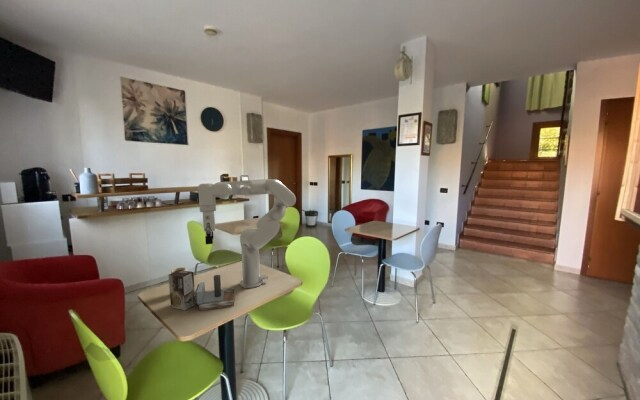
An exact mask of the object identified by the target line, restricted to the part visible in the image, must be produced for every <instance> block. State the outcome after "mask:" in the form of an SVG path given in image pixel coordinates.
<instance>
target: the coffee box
mask: <svg viewBox="0 0 640 400" xmlns="http://www.w3.org/2000/svg"><path fill="white" fill-rule="evenodd" d="M194 272H195V271H190V270H189V271H183V270H178V271H176V272H173V273H172V274H171V273H169V274H168V286H169V287H168V288H169V300H170V308H173V309H178V310H182V311H186V310H188V309H190V308H191V307H193V306H195V305H196V303H195V291H196V290H195V280H194V279H195V276H194Z"/></svg>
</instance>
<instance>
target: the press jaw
mask: <svg viewBox="0 0 640 400" xmlns="http://www.w3.org/2000/svg"><path fill="white" fill-rule="evenodd" d="M205 285H206V284H205V281H202V282H201V281H200V282H199V283H198V284H197V285H196V286H197V287H196V289H195V290H194V291H195V304H197V306H199V305H202V304H210V303H217V302H223V297H224V291H221V289H222V288H221V287H222V286H221V275H220V274H215V275H214V276H213V288H214V289H213V290H214V292H207V293H205V291H206V286H205Z"/></svg>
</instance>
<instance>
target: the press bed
mask: <svg viewBox="0 0 640 400" xmlns="http://www.w3.org/2000/svg"><path fill="white" fill-rule="evenodd" d="M221 291H224V297H223V302H217V303H210V304H202V305H200V304H198V309H199V311H200V312H201V311H206V310H213V309H220V308H228V307H234V306H235V287H229V288H221ZM207 292H214V289H211V290H205V293H207Z"/></svg>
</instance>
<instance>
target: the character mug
mask: <svg viewBox="0 0 640 400" xmlns="http://www.w3.org/2000/svg"><path fill="white" fill-rule="evenodd" d="M178 270H183V271H190V270H189V269H187V267H184V266H181V267H180V266H179V267H176V268H173V269H171V270H170V274H172V273H173V272H176V271H178Z"/></svg>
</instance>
